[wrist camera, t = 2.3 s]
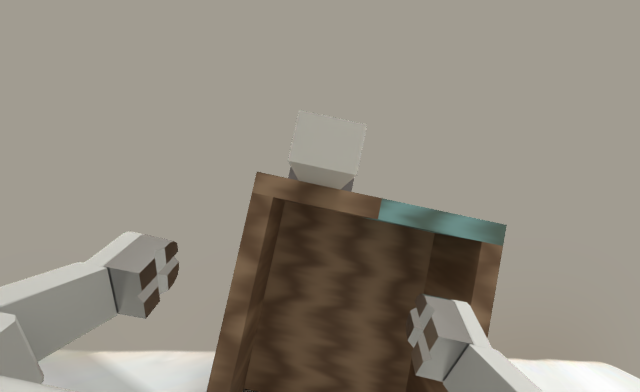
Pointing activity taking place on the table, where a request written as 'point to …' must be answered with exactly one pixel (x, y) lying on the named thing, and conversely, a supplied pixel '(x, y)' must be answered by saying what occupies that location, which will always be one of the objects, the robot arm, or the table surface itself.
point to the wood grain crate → (343, 288)
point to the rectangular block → (326, 150)
